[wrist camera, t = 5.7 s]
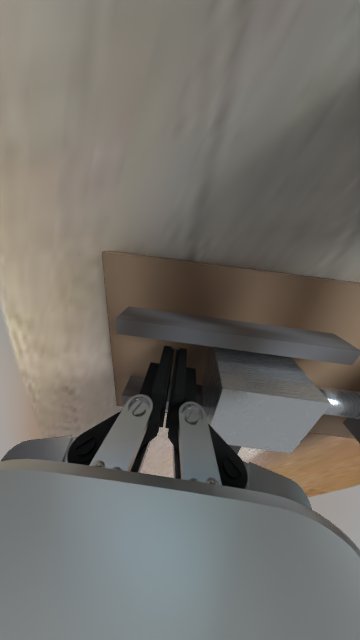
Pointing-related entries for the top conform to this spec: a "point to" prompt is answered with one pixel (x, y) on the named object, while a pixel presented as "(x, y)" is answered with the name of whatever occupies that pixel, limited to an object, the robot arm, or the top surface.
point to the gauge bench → (231, 322)
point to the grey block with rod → (266, 400)
